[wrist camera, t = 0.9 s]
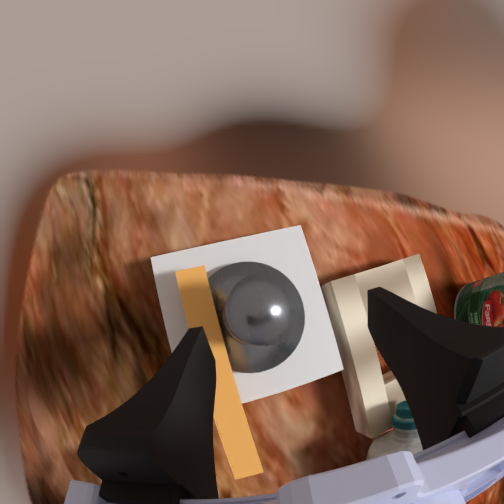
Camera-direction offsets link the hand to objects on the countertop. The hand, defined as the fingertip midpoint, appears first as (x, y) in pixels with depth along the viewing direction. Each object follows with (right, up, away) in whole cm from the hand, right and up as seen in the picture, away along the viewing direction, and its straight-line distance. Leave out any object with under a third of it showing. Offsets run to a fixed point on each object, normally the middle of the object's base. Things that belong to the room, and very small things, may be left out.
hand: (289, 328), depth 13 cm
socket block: (-2, -2, +12) cm, 13 cm away
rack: (+11, -5, +13) cm, 18 cm away
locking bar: (-4, -5, +7) cm, 9 cm away
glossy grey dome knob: (-2, -2, +12) cm, 13 cm away
